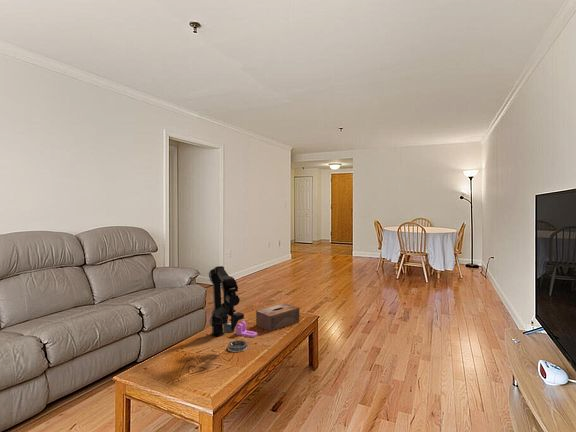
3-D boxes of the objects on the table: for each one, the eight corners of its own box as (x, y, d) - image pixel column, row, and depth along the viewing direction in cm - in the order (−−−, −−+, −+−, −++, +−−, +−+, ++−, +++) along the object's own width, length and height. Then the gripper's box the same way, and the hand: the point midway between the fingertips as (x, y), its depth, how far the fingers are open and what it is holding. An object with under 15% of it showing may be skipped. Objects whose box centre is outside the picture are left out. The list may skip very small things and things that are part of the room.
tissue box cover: (285, 316, 237) (285, 303, 237) (299, 322, 226) (299, 307, 226) (256, 325, 220) (256, 310, 219) (270, 331, 209) (269, 316, 209)
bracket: (236, 334, 204) (235, 323, 204) (241, 331, 210) (241, 320, 209) (254, 338, 199) (254, 326, 199) (258, 334, 204) (258, 323, 204)
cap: (221, 331, 183) (220, 323, 183) (229, 328, 187) (229, 321, 187) (228, 334, 179) (228, 326, 179) (236, 330, 184) (236, 323, 183)
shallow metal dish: (223, 348, 184) (223, 344, 184) (237, 341, 193) (237, 338, 193) (237, 353, 177) (237, 349, 177) (251, 346, 186) (251, 343, 186)
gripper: (206, 301, 182) (206, 329, 183) (228, 307, 171) (228, 338, 171) (222, 297, 191) (222, 324, 191) (244, 303, 179) (244, 331, 180)
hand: (228, 329), depth 183 cm, fingers closed on cap, 6 cm apart
